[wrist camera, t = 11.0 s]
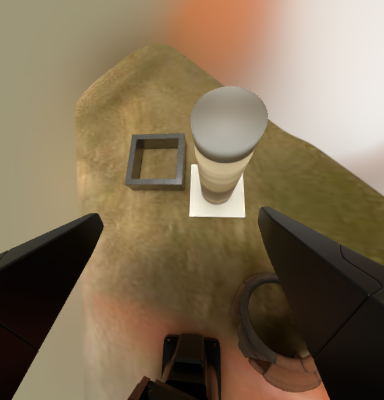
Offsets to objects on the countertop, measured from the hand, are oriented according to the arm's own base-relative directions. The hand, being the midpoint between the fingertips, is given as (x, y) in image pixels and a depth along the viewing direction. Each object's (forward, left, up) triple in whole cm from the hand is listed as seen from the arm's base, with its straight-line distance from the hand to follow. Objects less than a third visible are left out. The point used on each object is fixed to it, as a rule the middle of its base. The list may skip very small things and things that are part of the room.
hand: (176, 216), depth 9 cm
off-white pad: (+6, -3, -14) cm, 15 cm away
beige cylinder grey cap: (+6, -3, -13) cm, 15 cm away
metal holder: (+10, +6, -14) cm, 18 cm away
